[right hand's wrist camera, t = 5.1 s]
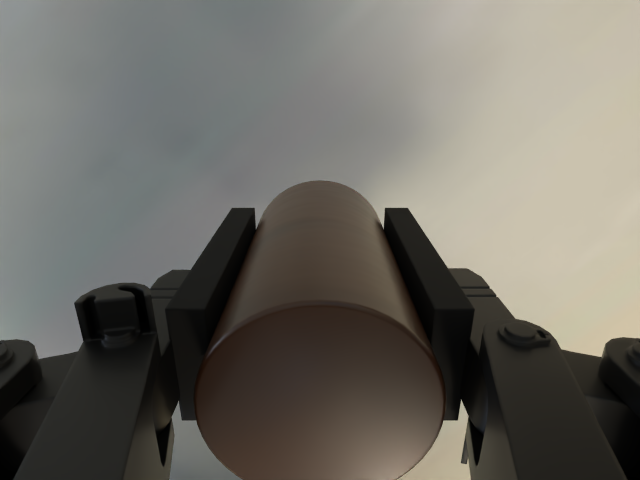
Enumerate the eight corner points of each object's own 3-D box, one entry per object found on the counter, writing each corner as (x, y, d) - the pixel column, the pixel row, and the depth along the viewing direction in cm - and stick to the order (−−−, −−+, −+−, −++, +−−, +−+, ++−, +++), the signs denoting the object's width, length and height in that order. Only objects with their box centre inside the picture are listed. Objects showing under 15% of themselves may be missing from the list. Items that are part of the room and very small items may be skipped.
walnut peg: (379, 296, 16) (433, 502, 8) (260, 297, 16) (205, 502, 8) (386, 179, 14) (463, 301, 6) (253, 179, 14) (176, 301, 6)
